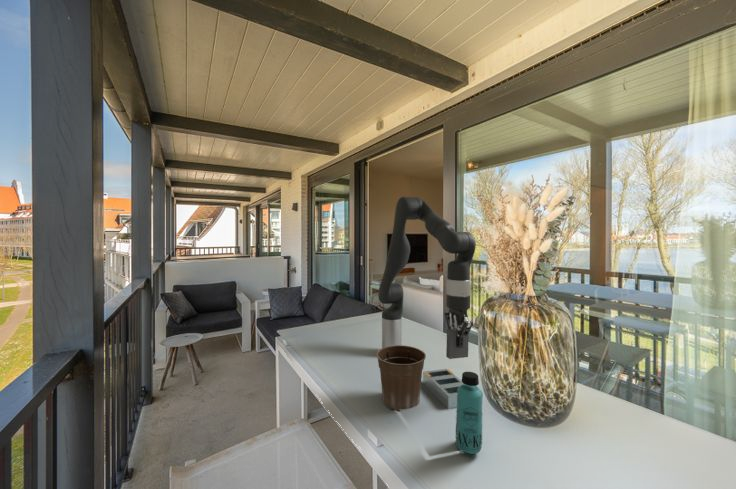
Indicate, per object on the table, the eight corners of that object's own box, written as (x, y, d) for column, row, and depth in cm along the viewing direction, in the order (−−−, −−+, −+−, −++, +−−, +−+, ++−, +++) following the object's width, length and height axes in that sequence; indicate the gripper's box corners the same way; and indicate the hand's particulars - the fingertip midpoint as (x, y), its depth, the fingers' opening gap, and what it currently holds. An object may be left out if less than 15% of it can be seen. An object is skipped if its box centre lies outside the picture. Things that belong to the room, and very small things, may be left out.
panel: (446, 356, 99) (446, 329, 98) (464, 354, 101) (465, 327, 100) (449, 359, 97) (450, 331, 97) (468, 357, 99) (468, 329, 98)
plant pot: (392, 421, 90) (393, 367, 89) (367, 396, 104) (367, 349, 104) (435, 407, 97) (436, 358, 97) (406, 385, 111) (407, 342, 111)
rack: (422, 385, 112) (423, 370, 112) (446, 381, 115) (446, 368, 115) (448, 412, 95) (448, 395, 95) (475, 407, 97) (475, 391, 97)
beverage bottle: (451, 443, 80) (452, 368, 80) (475, 442, 81) (476, 367, 80) (461, 461, 74) (462, 380, 73) (487, 459, 74) (488, 379, 74)
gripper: (437, 290, 104) (436, 340, 104) (459, 297, 90) (459, 355, 91) (456, 289, 106) (456, 338, 106) (481, 296, 92) (480, 352, 93)
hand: (457, 345), depth 99 cm, fingers closed on panel, 1 cm apart
